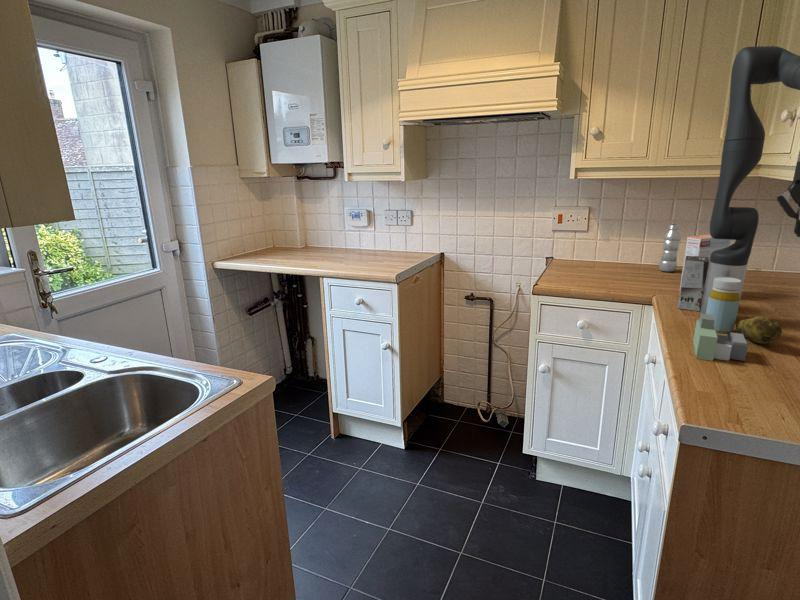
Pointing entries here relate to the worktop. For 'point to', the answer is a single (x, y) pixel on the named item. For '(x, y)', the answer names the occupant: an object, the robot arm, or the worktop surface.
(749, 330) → the potato
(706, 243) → the cracker box
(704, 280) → the coffee box
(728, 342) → the grey stepped block
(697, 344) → the green block cluster
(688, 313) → the worktop surface
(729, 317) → the bottle
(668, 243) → the plastic bottle
